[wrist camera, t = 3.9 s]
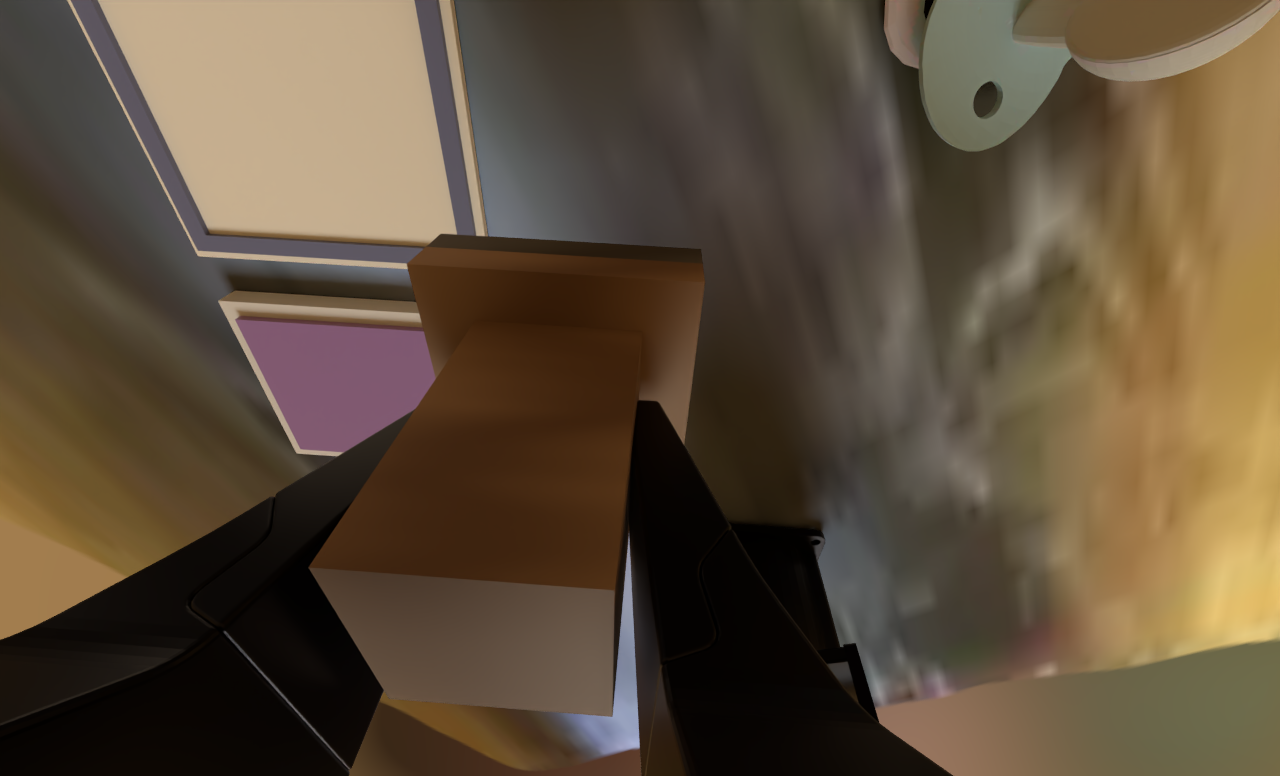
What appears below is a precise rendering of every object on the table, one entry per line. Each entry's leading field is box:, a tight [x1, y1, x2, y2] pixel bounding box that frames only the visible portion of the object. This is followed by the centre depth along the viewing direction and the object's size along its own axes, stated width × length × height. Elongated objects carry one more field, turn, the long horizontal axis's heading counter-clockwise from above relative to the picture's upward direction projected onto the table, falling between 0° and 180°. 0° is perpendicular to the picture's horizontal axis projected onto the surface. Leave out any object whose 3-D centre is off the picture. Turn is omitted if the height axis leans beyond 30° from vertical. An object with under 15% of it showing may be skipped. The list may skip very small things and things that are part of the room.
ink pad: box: [218, 291, 436, 456], centre depth 21 cm, size 10×8×1 cm
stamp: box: [308, 234, 705, 717], centre depth 8 cm, size 5×5×6 cm
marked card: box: [67, 0, 488, 269], centre depth 15 cm, size 11×11×1 cm
